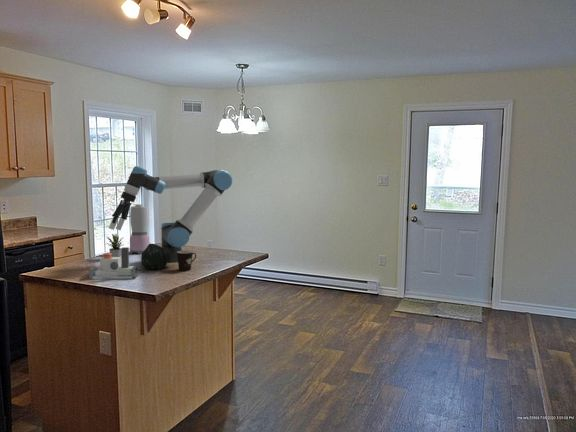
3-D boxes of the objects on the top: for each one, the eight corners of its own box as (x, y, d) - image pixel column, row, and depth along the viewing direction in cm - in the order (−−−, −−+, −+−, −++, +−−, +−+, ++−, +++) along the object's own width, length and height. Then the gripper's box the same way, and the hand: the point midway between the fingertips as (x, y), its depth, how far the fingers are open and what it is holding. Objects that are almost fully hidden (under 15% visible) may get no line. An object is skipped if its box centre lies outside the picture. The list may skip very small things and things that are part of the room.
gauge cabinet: (121, 271, 236) (121, 256, 235) (118, 274, 230) (118, 259, 229) (103, 271, 235) (103, 257, 234) (100, 274, 228) (99, 259, 228)
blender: (142, 254, 285) (142, 205, 282) (125, 253, 288) (125, 204, 285) (155, 250, 300) (155, 204, 297) (139, 249, 303) (138, 203, 300)
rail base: (137, 275, 228) (137, 266, 228) (135, 278, 221) (135, 268, 221) (93, 276, 225) (93, 266, 224) (88, 279, 218) (88, 269, 218)
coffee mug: (179, 272, 238) (179, 253, 237) (175, 268, 246) (175, 251, 245) (200, 270, 244) (200, 252, 243) (195, 267, 251) (195, 249, 250)
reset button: (112, 260, 234) (112, 253, 233) (110, 261, 230) (110, 254, 229) (104, 260, 233) (104, 253, 233) (102, 261, 229) (102, 254, 229)
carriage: (133, 272, 227) (133, 246, 226) (131, 275, 221) (130, 248, 220) (119, 272, 226) (119, 246, 225) (116, 275, 220) (116, 248, 219)
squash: (177, 257, 251) (161, 237, 251) (165, 263, 236) (147, 241, 237) (160, 272, 254) (144, 252, 255) (147, 279, 240) (130, 258, 240)
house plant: (98, 258, 271) (97, 231, 270) (120, 255, 280) (120, 230, 279) (106, 261, 261) (106, 234, 259) (129, 259, 270) (129, 232, 268)
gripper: (128, 193, 255) (114, 227, 253) (117, 188, 230) (101, 226, 229) (141, 198, 256) (126, 232, 254) (131, 193, 231) (115, 231, 229)
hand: (114, 229), depth 241 cm, fingers open, 13 cm apart
